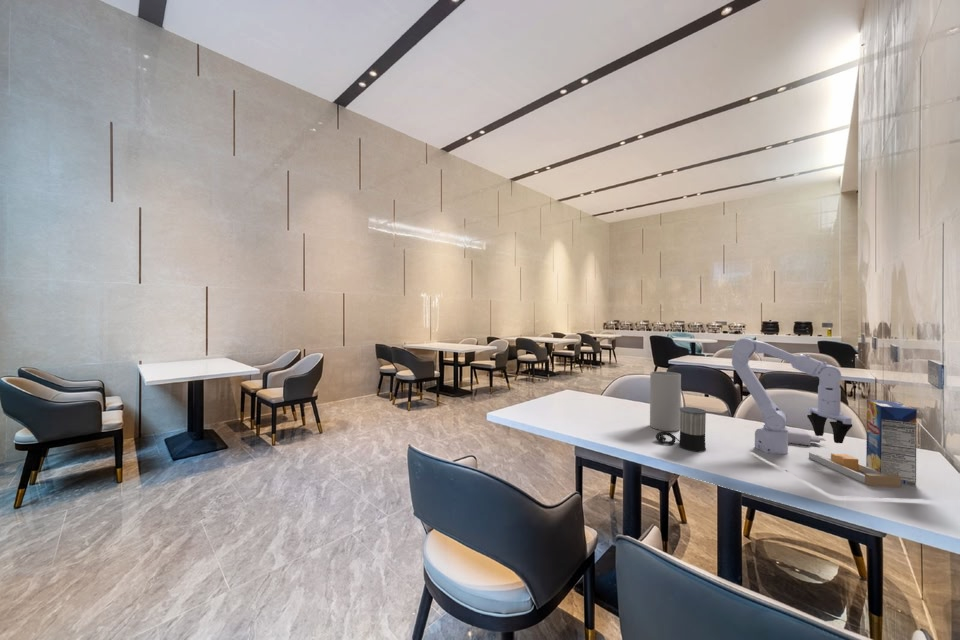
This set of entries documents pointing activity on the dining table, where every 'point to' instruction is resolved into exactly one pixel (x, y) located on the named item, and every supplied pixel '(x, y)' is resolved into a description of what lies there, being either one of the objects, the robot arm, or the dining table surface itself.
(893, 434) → the blue food box
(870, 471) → the track
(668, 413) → the cylinder vase
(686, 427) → the milk frother
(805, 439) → the charger
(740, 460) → the dining table surface
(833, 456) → the orange cube
